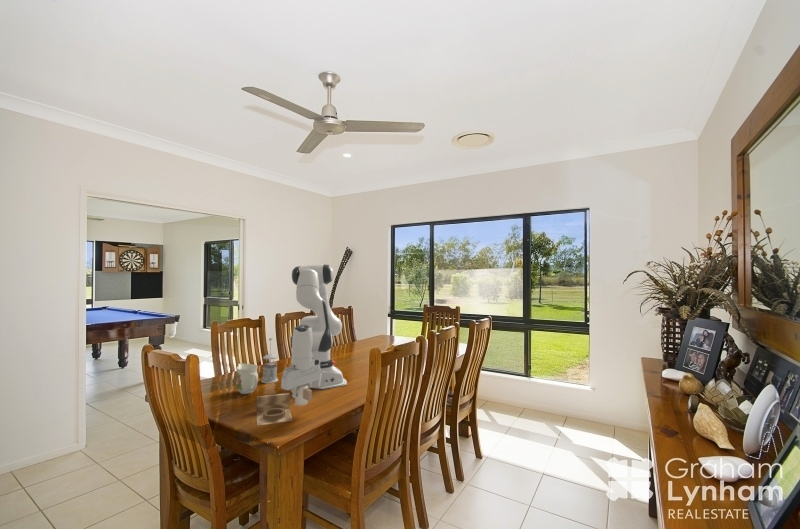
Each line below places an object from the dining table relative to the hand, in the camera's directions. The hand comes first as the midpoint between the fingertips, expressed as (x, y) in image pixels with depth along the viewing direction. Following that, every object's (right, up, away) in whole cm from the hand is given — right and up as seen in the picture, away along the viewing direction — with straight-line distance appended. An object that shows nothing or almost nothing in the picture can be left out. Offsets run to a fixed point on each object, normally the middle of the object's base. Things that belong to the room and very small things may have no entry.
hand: (301, 394), depth 155 cm
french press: (-33, -12, +53) cm, 64 cm away
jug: (+2, -4, -2) cm, 4 cm away
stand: (-11, -10, -2) cm, 15 cm away
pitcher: (-38, -11, +33) cm, 51 cm away
